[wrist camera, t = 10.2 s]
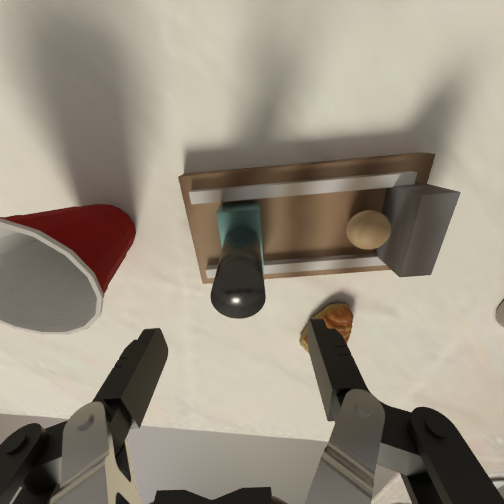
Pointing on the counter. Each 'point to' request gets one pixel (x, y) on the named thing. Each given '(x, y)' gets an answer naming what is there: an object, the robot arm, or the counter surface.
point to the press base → (326, 214)
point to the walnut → (368, 229)
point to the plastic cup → (60, 266)
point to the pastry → (332, 321)
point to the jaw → (239, 261)
